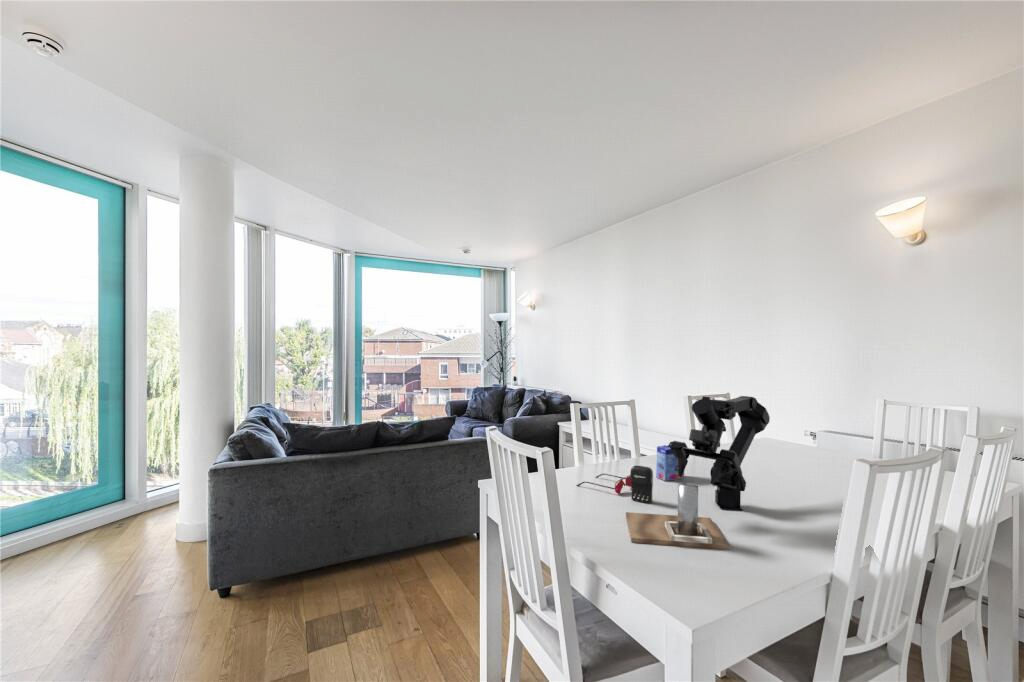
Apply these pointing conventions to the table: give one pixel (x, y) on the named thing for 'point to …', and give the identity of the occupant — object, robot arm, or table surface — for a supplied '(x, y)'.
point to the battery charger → (641, 483)
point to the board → (673, 531)
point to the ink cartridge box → (667, 464)
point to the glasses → (618, 486)
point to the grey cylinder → (687, 509)
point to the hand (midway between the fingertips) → (695, 479)
